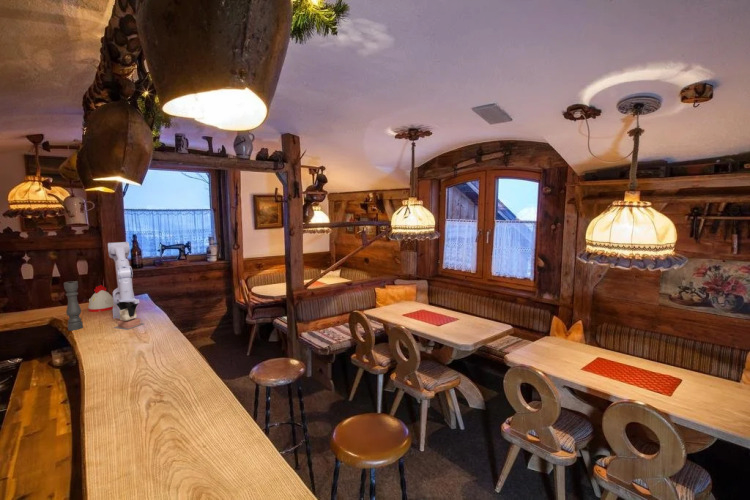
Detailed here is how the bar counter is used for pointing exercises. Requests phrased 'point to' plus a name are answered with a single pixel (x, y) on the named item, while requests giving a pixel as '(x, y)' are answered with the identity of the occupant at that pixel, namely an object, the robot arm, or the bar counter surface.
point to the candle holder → (73, 306)
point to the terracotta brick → (128, 323)
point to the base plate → (128, 328)
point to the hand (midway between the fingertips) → (128, 315)
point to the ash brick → (126, 315)
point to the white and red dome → (100, 300)
